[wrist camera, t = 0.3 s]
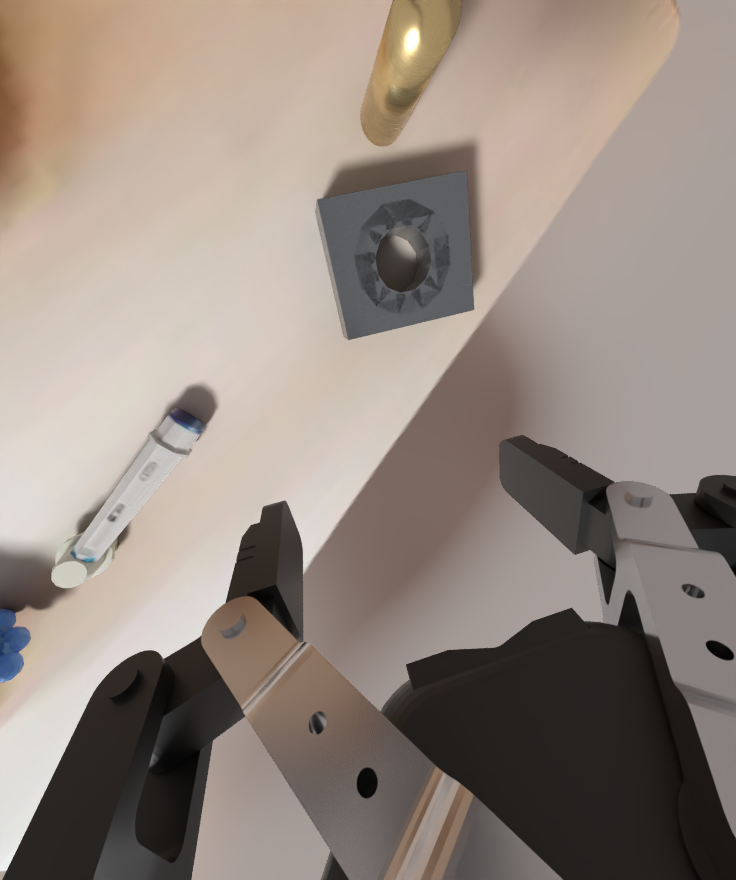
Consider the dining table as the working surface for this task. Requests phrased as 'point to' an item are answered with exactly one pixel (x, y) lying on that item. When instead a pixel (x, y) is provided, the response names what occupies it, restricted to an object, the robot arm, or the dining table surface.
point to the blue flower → (11, 645)
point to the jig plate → (430, 234)
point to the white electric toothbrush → (126, 500)
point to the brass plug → (406, 63)
